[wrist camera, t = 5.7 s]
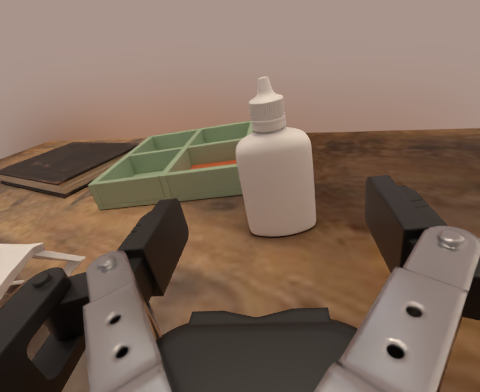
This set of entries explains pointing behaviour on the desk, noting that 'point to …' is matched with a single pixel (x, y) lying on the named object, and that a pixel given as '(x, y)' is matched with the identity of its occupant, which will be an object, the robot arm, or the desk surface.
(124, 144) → the hardcover book
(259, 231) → the eye dropper bottle
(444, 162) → the desk surface
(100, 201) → the organizer
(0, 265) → the origami figure
